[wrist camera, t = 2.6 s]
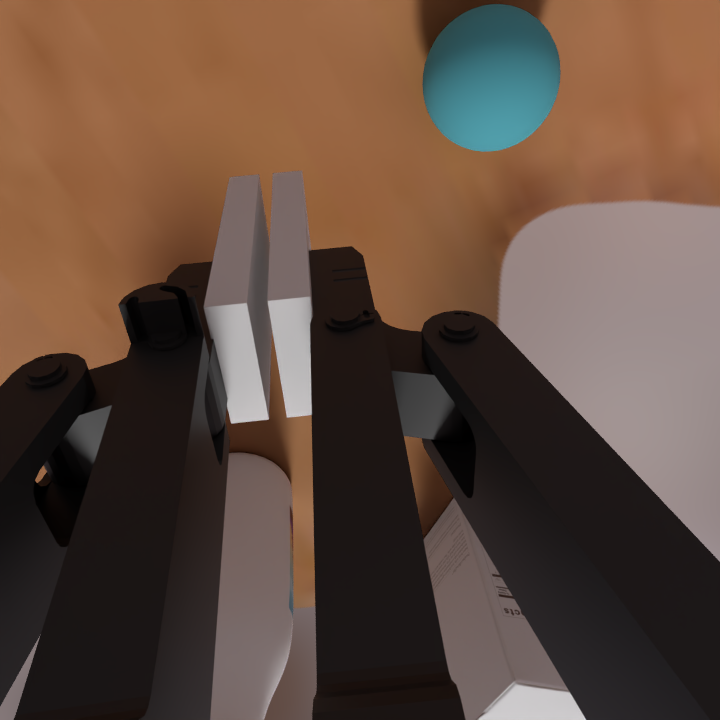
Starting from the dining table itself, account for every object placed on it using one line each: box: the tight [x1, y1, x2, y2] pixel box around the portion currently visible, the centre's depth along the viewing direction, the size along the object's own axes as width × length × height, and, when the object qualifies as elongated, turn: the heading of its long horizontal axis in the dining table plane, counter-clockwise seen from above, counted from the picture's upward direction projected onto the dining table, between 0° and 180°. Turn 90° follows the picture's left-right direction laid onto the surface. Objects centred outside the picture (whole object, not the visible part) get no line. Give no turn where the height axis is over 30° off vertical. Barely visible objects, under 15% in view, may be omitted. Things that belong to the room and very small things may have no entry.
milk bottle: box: [210, 452, 293, 720], centre depth 38 cm, size 8×8×20 cm
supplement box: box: [424, 498, 586, 720], centre depth 46 cm, size 9×9×15 cm
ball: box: [423, 4, 560, 151], centre depth 28 cm, size 6×6×6 cm
